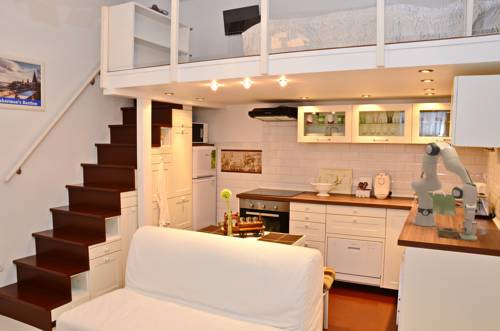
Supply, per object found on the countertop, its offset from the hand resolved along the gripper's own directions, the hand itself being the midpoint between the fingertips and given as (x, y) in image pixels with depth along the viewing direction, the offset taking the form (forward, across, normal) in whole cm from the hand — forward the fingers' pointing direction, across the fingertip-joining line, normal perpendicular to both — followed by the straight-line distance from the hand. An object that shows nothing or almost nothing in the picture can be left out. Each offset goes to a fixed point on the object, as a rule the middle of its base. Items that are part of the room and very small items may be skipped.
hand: (468, 224), depth 277 cm
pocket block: (+10, 0, -13) cm, 16 cm away
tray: (+10, 0, 0) cm, 10 cm away
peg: (+8, 0, 0) cm, 8 cm away
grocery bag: (+11, -100, -13) cm, 101 cm away
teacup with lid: (+10, -18, +2) cm, 21 cm away
